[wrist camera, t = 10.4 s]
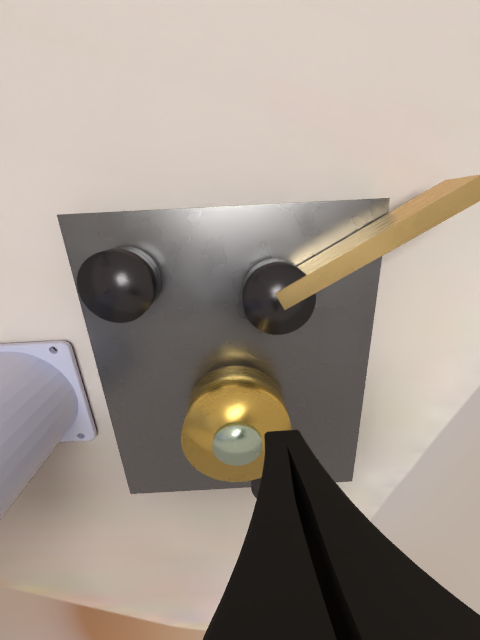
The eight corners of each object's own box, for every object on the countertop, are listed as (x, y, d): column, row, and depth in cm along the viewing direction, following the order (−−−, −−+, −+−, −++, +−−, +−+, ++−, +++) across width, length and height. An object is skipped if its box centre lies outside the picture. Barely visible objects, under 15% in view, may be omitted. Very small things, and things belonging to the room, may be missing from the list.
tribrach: (136, 476, 23) (112, 542, 18) (72, 214, 16) (6, 215, 11) (344, 464, 23) (372, 527, 18) (375, 199, 16) (434, 194, 11)
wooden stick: (261, 330, 17) (265, 347, 15) (229, 279, 16) (229, 290, 13) (457, 221, 15) (494, 223, 13) (437, 154, 14) (474, 144, 12)
